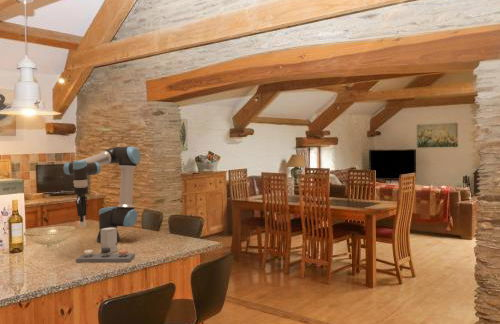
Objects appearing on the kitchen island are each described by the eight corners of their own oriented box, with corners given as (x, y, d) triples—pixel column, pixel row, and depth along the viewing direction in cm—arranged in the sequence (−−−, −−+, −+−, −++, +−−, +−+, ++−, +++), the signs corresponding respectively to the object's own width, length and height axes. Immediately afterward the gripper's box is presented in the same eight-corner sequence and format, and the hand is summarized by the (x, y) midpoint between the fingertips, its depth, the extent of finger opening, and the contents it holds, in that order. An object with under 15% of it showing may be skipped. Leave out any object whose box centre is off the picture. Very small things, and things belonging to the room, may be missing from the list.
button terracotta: (120, 257, 265) (120, 249, 265) (128, 257, 265) (128, 249, 265) (118, 259, 260) (117, 251, 260) (126, 259, 260) (126, 251, 260)
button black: (103, 256, 265) (103, 247, 265) (111, 255, 265) (111, 247, 265) (100, 258, 260) (100, 249, 260) (108, 258, 260) (108, 249, 260)
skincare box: (107, 254, 276) (106, 229, 275) (100, 253, 278) (99, 228, 278) (117, 251, 283) (117, 227, 282) (110, 250, 286) (110, 226, 285)
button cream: (86, 258, 265) (85, 249, 265) (94, 258, 265) (94, 249, 265) (83, 260, 260) (82, 251, 260) (91, 260, 260) (91, 251, 260)
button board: (84, 257, 269) (83, 253, 269) (134, 256, 268) (134, 253, 268) (76, 262, 257) (75, 259, 257) (129, 262, 256) (129, 258, 256)
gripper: (78, 185, 273) (80, 224, 275) (70, 188, 260) (72, 229, 262) (90, 185, 274) (92, 224, 275) (83, 188, 261) (85, 229, 262)
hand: (82, 226), depth 269 cm, fingers closed
